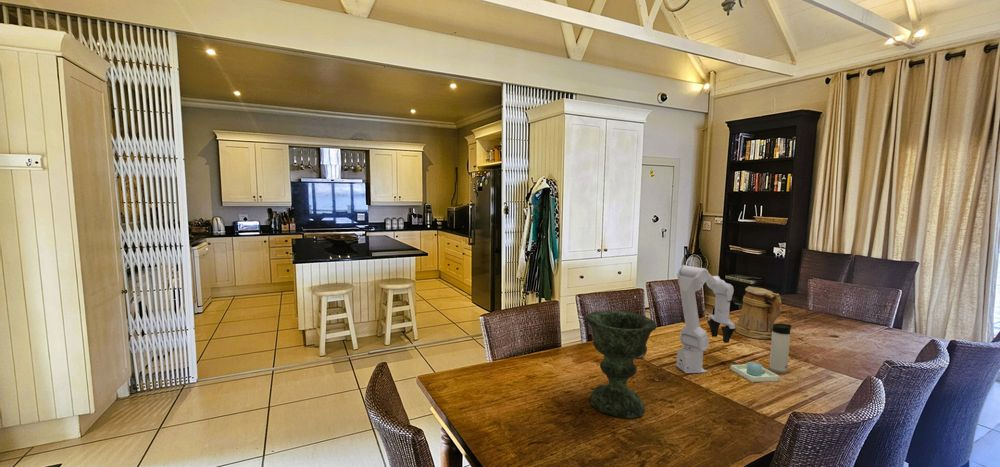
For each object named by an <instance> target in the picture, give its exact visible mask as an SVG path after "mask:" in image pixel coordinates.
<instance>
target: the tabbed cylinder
mask: <svg viewBox="0 0 1000 467" xmlns="http://www.w3.org/2000/svg"><path fill="white" fill-rule="evenodd" d="M746 364H747V374H749V375H751V376H756V377H757V376H762V374H765V371H764V370H762V367H763V365H762V363H761V364H760V363H759V362H754V361H748V362H746Z"/></svg>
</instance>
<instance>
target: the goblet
mask: <svg viewBox="0 0 1000 467" xmlns="http://www.w3.org/2000/svg"><path fill="white" fill-rule="evenodd" d="M584 319H585V321H586V323H587V324H589V326H590V330H591V331H592V337H593V341H592V344H593V346H594V347H593V348H595V350H596V351H597V352H598V353H599V354H601V355H603V360H602V361H601V362H600V363H599V368H600V370H601V372H602V374H604V375H606V378H607V381H608V384H601V385H598V386H597V387H595V388H594V389H593V390H592V391H591V394H590V396H589V402H590V404H591V406H593V408H595V409H596V410H597V411H599V412H601V413H603V414H605V415H608V416H612V417H617V418H624V419H625V418H626V419H637V418H640V417H642V416H643V415H644V413H645V405H644V402H643V400H642V398H641V397H640V396H639V394H638V393H637V392H635V391H634V390H632V389H630V388H629V387H627V382H628V380H629V379H631V378H632V377H634V376H635V375H636V374H637V370H638V368H637V366H636V364H635V363H634V359H639V358H638V357H640V356H642V355H643V354H644V353H645V352H646V347H647V343H648V340H649V338H650V335H651V333H652V332H653V331H655V330H656V329H657V327H658V324H657V322H655V321H654V320H653V319H651V318H649V317H647V316H645V315H642V314H639V313H634V312H629V311H623V310H622V311H621V310H599V311H593V312H590V313H588V314H587V315H586V316H585V318H584ZM646 353H647V352H646Z"/></svg>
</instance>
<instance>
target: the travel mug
mask: <svg viewBox="0 0 1000 467" xmlns="http://www.w3.org/2000/svg"><path fill="white" fill-rule="evenodd" d="M791 329H792V325H791V324H788V323H774V324H773V329H772V339H770V340H771V341H770V351H769V352H770V353H769V355H770V356H769V366H768V368H769V369H768V370H769V371H771V372H773V373H775V374H776V373H777V374H782V375H783V374H784V375H785V374H787V373H788V366H789V355H790V353H789V352H790V343H791V341H790V340H791Z"/></svg>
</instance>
